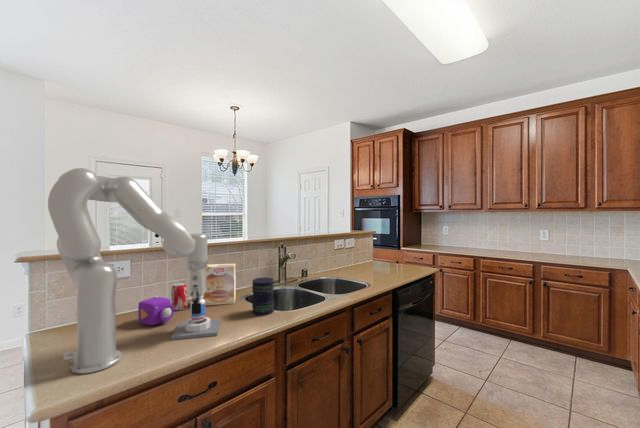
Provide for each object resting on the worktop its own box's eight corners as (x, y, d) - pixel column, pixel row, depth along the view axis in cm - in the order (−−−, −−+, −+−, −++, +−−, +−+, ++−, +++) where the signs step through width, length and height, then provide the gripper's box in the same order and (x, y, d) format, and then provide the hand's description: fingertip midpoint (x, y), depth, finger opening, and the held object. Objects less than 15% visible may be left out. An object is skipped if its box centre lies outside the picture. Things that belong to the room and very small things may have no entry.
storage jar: (277, 312, 134) (277, 280, 134) (257, 317, 128) (257, 283, 128) (268, 307, 142) (268, 276, 142) (249, 310, 137) (249, 279, 136)
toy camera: (162, 328, 116) (162, 303, 116) (133, 325, 119) (133, 301, 119) (180, 318, 127) (180, 296, 127) (153, 316, 130) (153, 294, 130)
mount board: (171, 340, 106) (170, 330, 106) (180, 325, 120) (180, 316, 120) (217, 335, 110) (217, 325, 110) (220, 321, 123) (220, 313, 123)
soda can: (183, 311, 136) (183, 285, 136) (168, 311, 136) (168, 285, 136) (190, 306, 143) (190, 282, 143) (176, 306, 143) (176, 282, 143)
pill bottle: (207, 319, 115) (207, 294, 115) (194, 323, 111) (193, 297, 111) (201, 315, 119) (201, 291, 118) (188, 319, 115) (187, 294, 114)
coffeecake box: (203, 305, 144) (203, 266, 144) (205, 301, 151) (205, 264, 151) (234, 303, 147) (234, 265, 147) (235, 299, 154) (235, 263, 154)
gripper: (204, 269, 107) (204, 317, 107) (210, 260, 124) (210, 303, 124) (182, 270, 105) (182, 319, 105) (191, 261, 122) (191, 304, 122)
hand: (197, 310), depth 115 cm, fingers closed on pill bottle, 5 cm apart
